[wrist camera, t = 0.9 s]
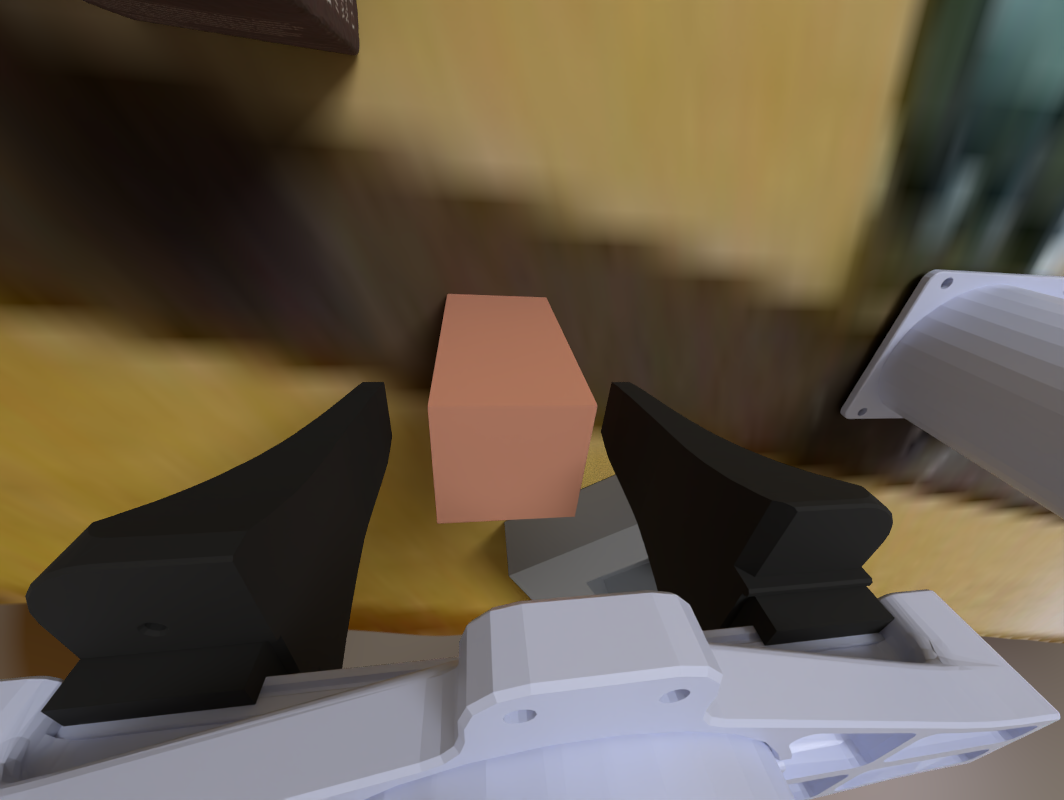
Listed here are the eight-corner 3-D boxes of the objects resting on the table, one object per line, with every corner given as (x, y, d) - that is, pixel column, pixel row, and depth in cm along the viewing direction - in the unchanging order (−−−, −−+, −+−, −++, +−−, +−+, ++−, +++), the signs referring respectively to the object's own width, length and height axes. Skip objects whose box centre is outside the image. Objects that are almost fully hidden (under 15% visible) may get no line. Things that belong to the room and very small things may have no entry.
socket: (695, 440, 22) (729, 487, 19) (727, 551, 28) (757, 598, 25) (504, 522, 23) (508, 575, 20) (577, 608, 30) (588, 658, 27)
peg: (546, 297, 16) (597, 405, 9) (537, 380, 18) (574, 516, 12) (447, 294, 15) (427, 406, 9) (451, 380, 18) (437, 523, 11)
